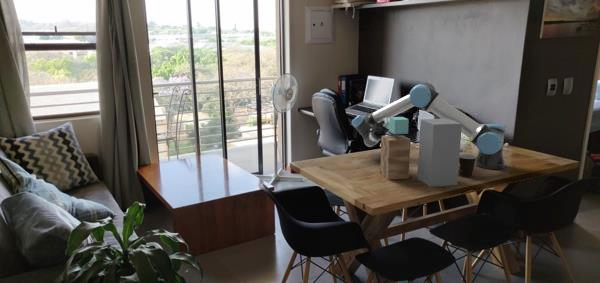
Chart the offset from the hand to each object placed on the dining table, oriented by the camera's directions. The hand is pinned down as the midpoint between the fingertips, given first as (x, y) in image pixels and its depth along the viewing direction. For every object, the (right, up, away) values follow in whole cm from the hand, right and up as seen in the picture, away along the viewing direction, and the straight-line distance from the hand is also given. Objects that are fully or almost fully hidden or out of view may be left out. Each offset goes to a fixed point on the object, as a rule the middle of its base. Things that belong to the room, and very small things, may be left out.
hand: (391, 119), depth 229 cm
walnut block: (+1, -29, 0) cm, 29 cm away
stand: (+20, -31, -10) cm, 38 cm away
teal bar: (0, -5, -2) cm, 5 cm away
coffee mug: (+39, -29, +1) cm, 48 cm away
